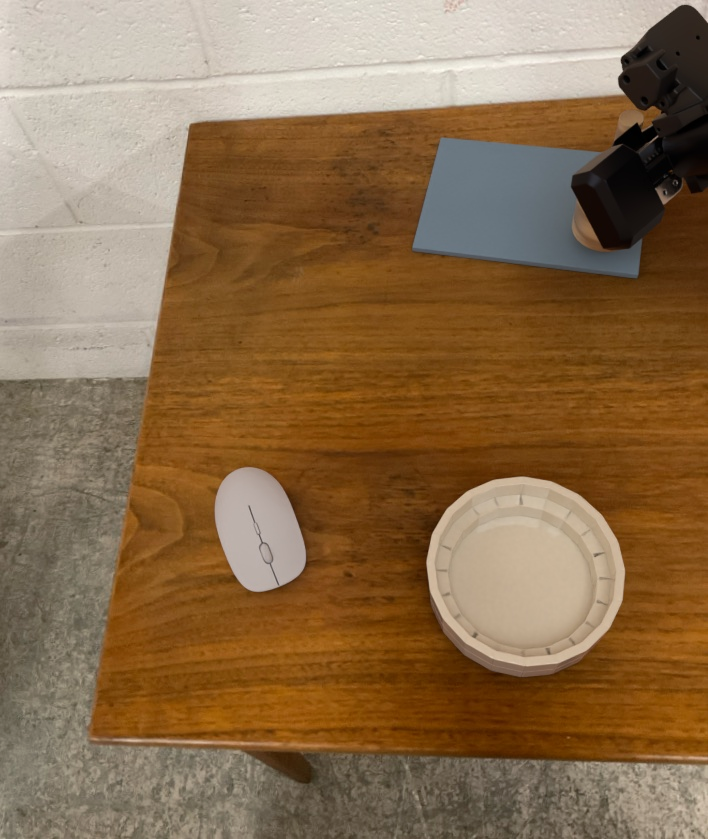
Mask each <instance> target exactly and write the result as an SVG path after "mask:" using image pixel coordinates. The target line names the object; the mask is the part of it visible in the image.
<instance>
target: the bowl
mask: <svg viewBox="0 0 708 839" xmlns="http://www.w3.org/2000/svg"><path fill="white" fill-rule="evenodd" d="M429 542H430V543H429V546H428V552H427V555H426V563H425V564H426V576H427V585H428V593H429V601H430V605H431V609H432V611H433V613H434V616H435V617H436V620H437V621H438V624H439V627H440V629H441V630H442V632H443V634H444V635H445V636H446V637H447V638H448V639H449V640H450V642H451V643H452V644H453V645H454V646H455V647H456V648H457V649H458V650H459V651H460V652H461V654H462V655H463V656H465V657H466V658H469V659H470V660H472V661H473V662H475V663H477V664H479V665H480V666H482V667H483V668H486V669H487V670H489V671H491V672H495V673H500V674H505V675H508V676H513V677H518V678H528V677H537V676H538V677H540V676H549V675H554V674H556V673H558V672H560V671H563V670H564V669H566V668H567V669H568V668H569V667H571V666H573V665H575V664H577V663H579V662H580V661H582V659H584V658H585V657H586V656H587V655H588V654H589V653H590V652H591V651H592V650H593V649H594V648H595V647H596V646H597V645H598V644H599V643H600V642H601V641H602V639H603V638H604V636H605V635H606V634H607V632H609V630H610V629H611V626H612V624H613V623H614V620H615V619H616V616H617V614H618V611H619V610H620V608H621V606H622V603H623V600H624V590H625V580H626V579H625V578H626V567H625V564H624V559H623V555H622V551H621V547H620V543H619V540H618V539H617V537H616V535H615V533H614V532H613V530H612V529H611V527H610V526H609V523H608V522H607V520H606V519H605V517H604V516H603V515H602V514H601V513H600V512H599V510H597V509H596V508H595V507H593V506H592V504H590V502H588V501H587V500H586V499H585V498H584V497H583V496H581V495H580V494H578V493H577V492H575V491H572V490H571V489H568V488H567V487H564V486H563V485H560V484H558V483H556V482H554V481H551V480H546V479H541V478H535V477H529V476H514V477H505V478H498V479H492V480H490V481H487V482H485V483H483V484H481V485H478V486H475V487H474V488H471V489H469V490H467V491H466V492H464V493H463V494H462V495H461V496H460V497H458V498H457V500H455V501H454V502H453V503H452V504H450V505H449V506H448V507H447V508H446V509H445V511H444V512H443V514H442V515H441V518H440V519H439V521H438V523H437V525H436V526H435V528H434V530H433V531H432V534H431V537H430V541H429Z"/></svg>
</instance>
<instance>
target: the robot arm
mask: <svg viewBox="0 0 708 839" xmlns="http://www.w3.org/2000/svg"><path fill="white" fill-rule="evenodd" d="M620 64H621V69H622V70H621V71H622V72H621V73H620V74H619V75H618V76H617V85H618V87H619V89H620V90H621V92H623V94H624V95H625V96H626V97H627V99H628V100H629V101H630V102H631V103H632V104H633V105H634V107H635V108H636V109H637V110H638V111H642V112H646V111H648V110H649V109H650V108H652V107H654V108H656V109H657V110H658V111H660V114H659V115H657V116H656V117H654V118H653V120H651V121H650V122H651V124H650V125H648V126H647V127H645V128H643V129H642V130H641V129H640V127H639V124H638V123H635V124H634V125H633V126H632V127H630V128H629V129H628V130H627V131H626V132H624V133H623V134H622V135H621V136H619V137H618V138H617V139H616V140H615V141H614V140H613V141H614V142H613V141H612V145H611V147H609V148H607V149H606V150H604V151H601V152H602V153H600V154H598V155H597V156H596V157H594V158H593V159H592V160H591V161H589V162H588V163H587V164H586V165H585V166H583V167H582V168H581V169H580V170H578V171H577V172H576V173H575V174H573V175H572V182H571V188H572V190H573V192H574V194H575V196H576V198H577V200H578V202H579V204H580V206H581V207H582V209H583V211H584V213H585V215H586V217H587V219H588V221H589V223H590V225H591V227H592V229H593V230H594V232H595V234H596V236H597V238H598V240H599V242H600V244H601V246H602V248H603V249H607V250H611V251H614V250H623V249H630V248H631V247H632V246H633V245H635V244H636V243H637V242H638V241H639V240H640V239H641V238H642V239H643V238H644V237H645V236H646V235H648V234H649V233H650V232H651V231H652V230H653V229H654V228H655V227H657V226H658V225H659V224H661V222H662V220H663V216H664V214H665V211H666V207H665V205H666V204H667V203H668V202H669V201H670V200H672V199H673V198H674V197H675V196H676V195H677V194H678V193H680V192H681V191H682V189H683V186H684V181H685V184H686V185H687V188H688V190H689V192H690V194H691V195H693V194H697V193H698V194H699V193H703V192H704V191H705V190H707V188H708V21H707V20H706V19H705V18H704V17H703V15H702V14H701V13H700V12H699V10H698V9H697V8H696V7H694V6H692V5H690V4H680V5H679V6H677V7H676V8H675V9H673V10H671V11H670V12H669V13H668V14H667V15H665V16H664V17H663V18H662V19H660V20H658V22H656V23H655V24H653V26H651V27H650V28H649V29H648V30H647V31H646V32H645V33H644V34H643V36H642V37H641V38H640V39H639V40H638V41H637V43H636V44H635V45H634V46H633V47H632V48H631V49H629V50H628V51H627V52H626V53H624V54H623V55H621V57H620Z"/></svg>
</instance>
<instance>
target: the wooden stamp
mask: <svg viewBox="0 0 708 839" xmlns="http://www.w3.org/2000/svg"><path fill="white" fill-rule="evenodd" d="M644 122H645V116H644V114H643V113H642V112H640V110H636V109H626V110H624V111H622V112H621V113H620V115H619V116H618V121H617V125H616V129H615V133H614V137H613V141H612V143H613V142H614V141H615V140H616V139H617V138H618V137H619V136H621V135H622V134H623V133H624V132H626V131H627V130H628V129H629V128H630V127H632V126H633V125H634V124H635V123H638V124H639V127H640V129H641V131H642V130H643V125H644ZM572 231H573V234H574V236H575V237H576V239H577V240H578V241H579V242H580V243H581V244H582V245H584V246H586V247H587V248H590V249H592V250H595V251H600V252H612V251H611V250H607V249H603V248H602V246H601V244H600V242H599V240H598V238H597V236H596V234H595V232H594V230H593V229H592V227H591V225H590V223H589V221H588V219H587V217H586V215H585V213H584V211H583V209H582V207H581V206H580V204H579V202H578V200H576V205H575V210H574V215H573V220H572ZM614 251H617V250H614Z"/></svg>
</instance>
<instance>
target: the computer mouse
mask: <svg viewBox="0 0 708 839" xmlns="http://www.w3.org/2000/svg"><path fill="white" fill-rule="evenodd" d="M214 520H215V526H216V530H217V534H218V538H219V541H220V544H221V547H222V549H223V553H224V555H225V557H226V560H227V562H228V564H229V567H230V568H231V570H232V573H233V574H234V576H235V577H236V579H237V581H238V582H239V584H241V585H242V586H243V587H244V588H245V589H247V590H248V591H250V592H254V593H261V592H268V591H272V590H274V589H277V588H280V587H283V586H285V585H287V584H288V583H290V582H292V581H293V580H295V579H297V578H298V577H299V576H300V575H301V574H302V572H304V569H305V567H306V563H307V550H306V546H305V540H304V538H303V537H304V536H303V535H302V530H301V528H300V524H299V522H298V519H297V517H296V514H295V511H294V509H293V506H292V503H291V502H290V499H289V497H288V495H287V493H286V491H285V489H284V488H283V486H282V485H281V484H280V482H279V481H278V480H277V479H276V478H275V477H274V476H273V475H272V474H270V473H269V472H267V471H265V470H264V469H261V468H258V467H254V466H253V467H252V466H245V467H241V468H237V469H235V470H233V471H232V472H230V473H229V474H227V475H226V477H225V478H224V479H223V480H222V481H221V484H219V487H218V490H217V492H216V496H215V501H214Z"/></svg>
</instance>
